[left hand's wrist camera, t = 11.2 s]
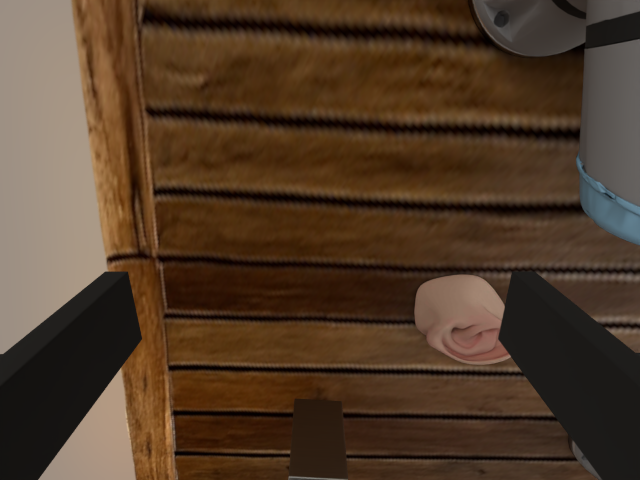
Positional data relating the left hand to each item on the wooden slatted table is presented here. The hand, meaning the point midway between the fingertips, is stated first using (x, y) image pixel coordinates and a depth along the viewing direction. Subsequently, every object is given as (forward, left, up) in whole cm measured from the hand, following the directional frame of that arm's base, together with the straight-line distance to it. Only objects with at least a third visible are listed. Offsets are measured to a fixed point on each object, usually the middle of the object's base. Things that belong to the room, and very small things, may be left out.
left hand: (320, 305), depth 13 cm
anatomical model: (-18, +20, -30) cm, 41 cm away
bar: (+1, +33, -18) cm, 38 cm away
